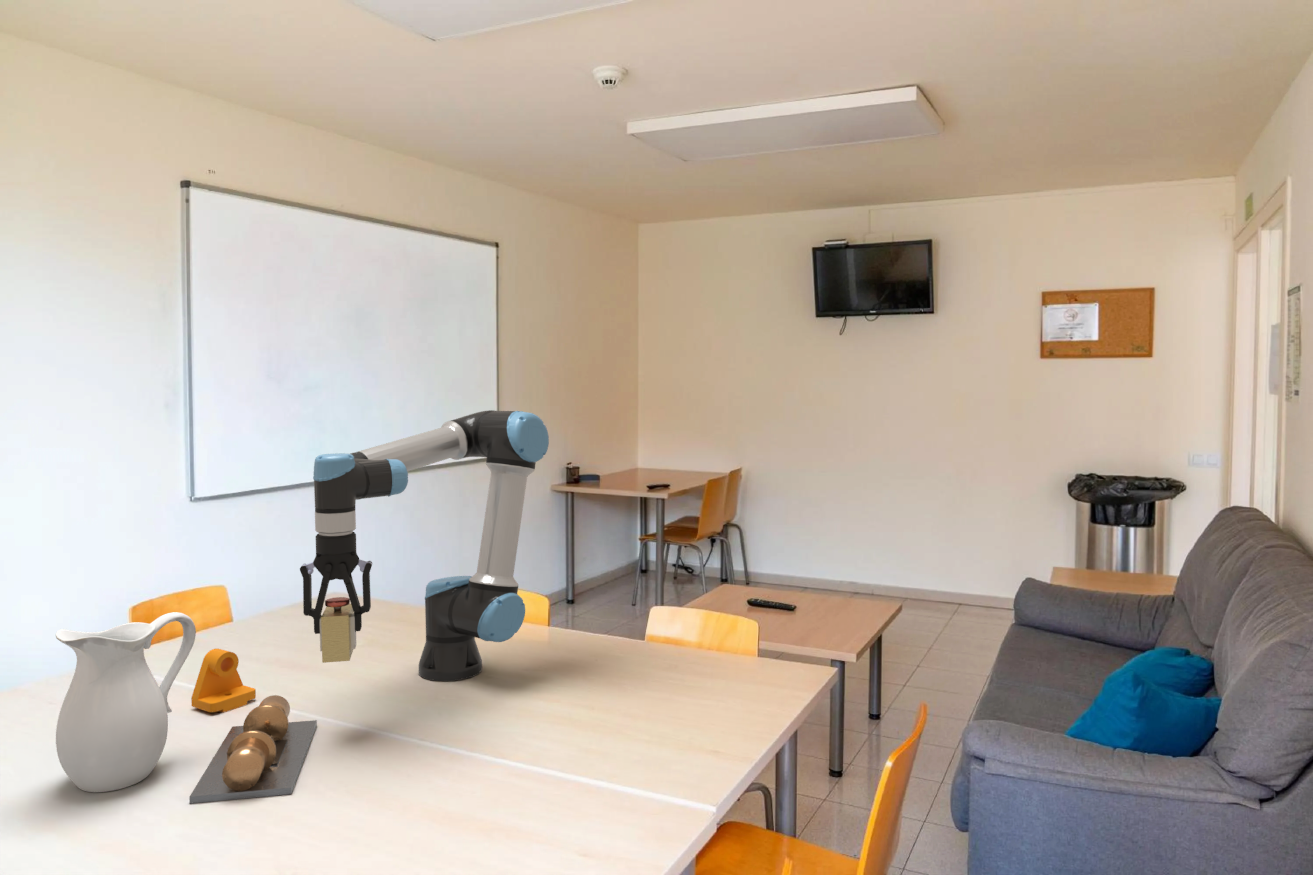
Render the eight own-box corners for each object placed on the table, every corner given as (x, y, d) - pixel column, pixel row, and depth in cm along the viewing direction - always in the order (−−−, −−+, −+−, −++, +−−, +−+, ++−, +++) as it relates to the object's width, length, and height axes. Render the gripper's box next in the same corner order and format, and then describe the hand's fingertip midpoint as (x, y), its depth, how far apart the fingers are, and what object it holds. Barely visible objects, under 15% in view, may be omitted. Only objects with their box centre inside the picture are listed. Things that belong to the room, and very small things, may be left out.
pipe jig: (232, 732, 179) (231, 692, 178) (316, 725, 183) (316, 686, 182) (189, 803, 149) (188, 755, 148) (291, 794, 153) (290, 747, 152)
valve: (354, 646, 182) (353, 593, 181) (349, 660, 173) (348, 605, 172) (328, 648, 181) (327, 595, 180) (322, 662, 172) (320, 606, 171)
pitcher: (87, 810, 146) (82, 644, 145) (38, 784, 155) (33, 628, 154) (224, 758, 167) (221, 612, 165) (174, 738, 175) (170, 599, 174)
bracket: (212, 716, 187) (210, 660, 187) (191, 709, 191) (190, 655, 190) (257, 701, 197) (256, 647, 196) (237, 695, 200) (236, 642, 200)
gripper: (384, 527, 181) (387, 639, 182) (290, 530, 176) (293, 645, 178) (382, 533, 173) (384, 650, 175) (283, 537, 169) (286, 657, 171)
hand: (338, 647), depth 177 cm, fingers closed on valve, 5 cm apart
